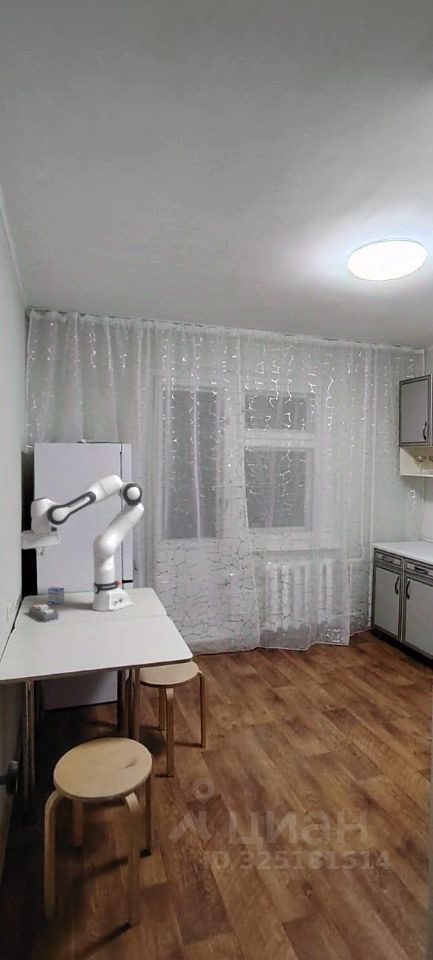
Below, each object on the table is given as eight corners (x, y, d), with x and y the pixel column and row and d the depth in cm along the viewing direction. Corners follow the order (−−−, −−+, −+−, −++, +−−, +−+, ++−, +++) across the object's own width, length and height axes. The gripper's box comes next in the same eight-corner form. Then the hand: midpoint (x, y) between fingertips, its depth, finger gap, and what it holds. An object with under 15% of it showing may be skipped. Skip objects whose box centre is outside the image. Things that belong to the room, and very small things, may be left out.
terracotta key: (40, 609, 265) (40, 604, 265) (43, 611, 262) (43, 605, 262) (32, 611, 262) (32, 605, 262) (36, 612, 259) (35, 607, 259)
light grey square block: (45, 609, 260) (45, 604, 260) (48, 611, 257) (48, 605, 257) (37, 611, 257) (37, 605, 257) (41, 613, 254) (40, 607, 254)
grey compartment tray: (42, 610, 267) (41, 604, 267) (58, 619, 252) (58, 612, 252) (29, 613, 262) (28, 606, 262) (44, 622, 247) (44, 615, 247)
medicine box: (47, 604, 280) (47, 588, 279) (52, 601, 284) (52, 586, 284) (59, 605, 277) (59, 589, 277) (64, 602, 282) (64, 587, 281)
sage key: (50, 615, 255) (50, 609, 255) (54, 616, 252) (53, 610, 252) (43, 616, 252) (43, 610, 252) (46, 618, 249) (46, 612, 249)
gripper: (22, 531, 249) (23, 559, 250) (61, 527, 263) (62, 553, 263) (18, 530, 254) (18, 557, 254) (56, 526, 267) (57, 552, 268)
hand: (41, 555), depth 259 cm, fingers closed
